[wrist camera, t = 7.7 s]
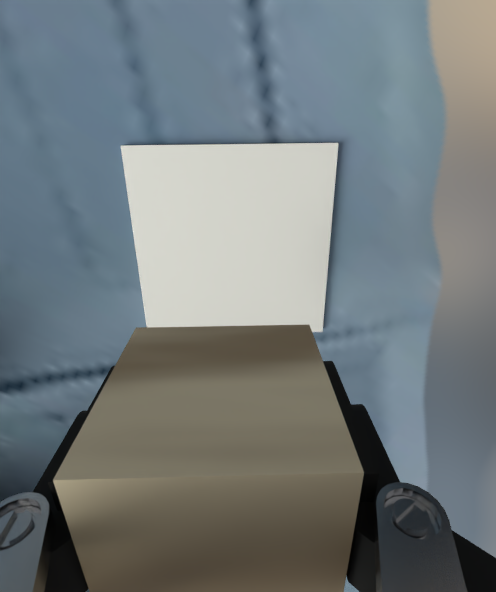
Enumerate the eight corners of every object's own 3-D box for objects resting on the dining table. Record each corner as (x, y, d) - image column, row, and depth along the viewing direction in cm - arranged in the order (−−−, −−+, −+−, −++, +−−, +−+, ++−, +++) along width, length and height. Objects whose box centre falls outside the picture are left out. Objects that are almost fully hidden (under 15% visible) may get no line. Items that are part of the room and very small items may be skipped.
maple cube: (136, 327, 10) (52, 479, 6) (309, 324, 10) (364, 472, 6) (155, 454, 12) (106, 642, 8) (300, 451, 12) (336, 634, 8)
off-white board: (123, 145, 23) (120, 145, 23) (336, 142, 24) (338, 142, 23) (149, 331, 29) (148, 335, 29) (320, 328, 29) (322, 331, 29)
